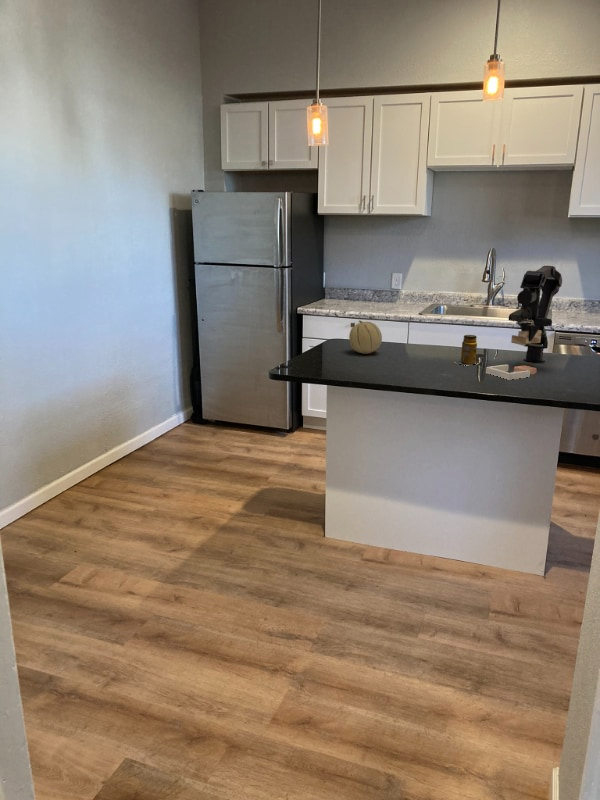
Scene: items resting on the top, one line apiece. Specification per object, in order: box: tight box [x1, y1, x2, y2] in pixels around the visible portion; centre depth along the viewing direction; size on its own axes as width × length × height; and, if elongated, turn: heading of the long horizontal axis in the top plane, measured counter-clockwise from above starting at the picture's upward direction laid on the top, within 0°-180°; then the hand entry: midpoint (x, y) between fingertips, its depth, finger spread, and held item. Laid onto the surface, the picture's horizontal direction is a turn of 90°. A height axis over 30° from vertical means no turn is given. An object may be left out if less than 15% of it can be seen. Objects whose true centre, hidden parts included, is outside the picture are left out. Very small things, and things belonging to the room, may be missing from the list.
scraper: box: [510, 330, 542, 347], centre depth 251 cm, size 11×7×5 cm, turn 114°
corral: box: [485, 364, 530, 381], centre depth 239 cm, size 11×12×2 cm
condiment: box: [453, 334, 480, 367], centre depth 257 cm, size 7×8×12 cm
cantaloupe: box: [348, 320, 383, 355], centre depth 276 cm, size 15×15×15 cm
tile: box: [513, 365, 537, 375], centre depth 243 cm, size 6×6×2 cm
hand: (527, 340), depth 251 cm, fingers closed on scraper, 2 cm apart
